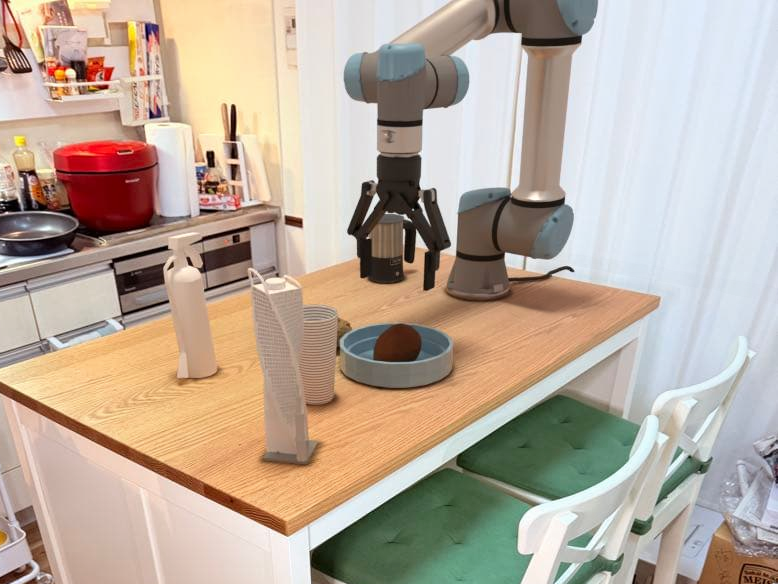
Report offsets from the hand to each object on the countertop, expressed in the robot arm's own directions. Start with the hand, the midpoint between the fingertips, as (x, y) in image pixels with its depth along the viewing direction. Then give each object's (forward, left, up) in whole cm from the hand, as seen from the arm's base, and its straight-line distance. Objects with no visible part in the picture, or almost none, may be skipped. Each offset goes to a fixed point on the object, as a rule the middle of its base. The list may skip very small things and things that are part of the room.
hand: (396, 282), depth 140 cm
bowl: (0, 0, -16) cm, 16 cm away
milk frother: (-50, -37, -16) cm, 64 cm away
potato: (0, 0, -16) cm, 16 cm away
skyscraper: (+38, +4, -16) cm, 41 cm away
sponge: (0, -22, -16) cm, 27 cm away
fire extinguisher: (+24, -30, -16) cm, 42 cm away
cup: (+20, -4, -16) cm, 26 cm away
